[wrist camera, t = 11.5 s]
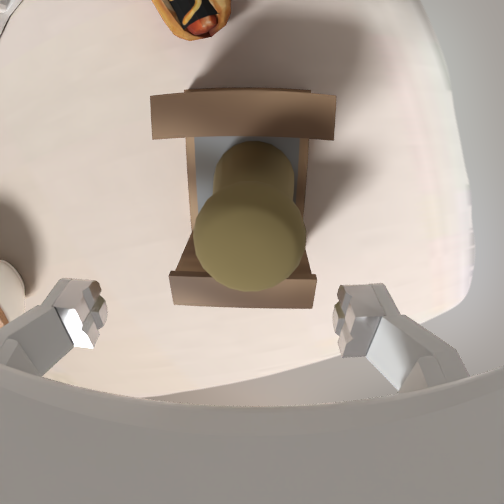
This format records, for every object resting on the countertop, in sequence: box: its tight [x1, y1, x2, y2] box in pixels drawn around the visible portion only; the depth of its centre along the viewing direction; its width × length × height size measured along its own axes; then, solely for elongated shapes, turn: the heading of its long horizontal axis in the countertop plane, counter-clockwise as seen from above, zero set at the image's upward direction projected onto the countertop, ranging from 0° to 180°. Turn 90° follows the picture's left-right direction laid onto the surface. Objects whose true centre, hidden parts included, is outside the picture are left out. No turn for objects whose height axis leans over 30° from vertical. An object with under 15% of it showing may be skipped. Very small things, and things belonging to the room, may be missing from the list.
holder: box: [150, 88, 336, 309], centre depth 20 cm, size 14×9×8 cm
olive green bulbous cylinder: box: [193, 141, 306, 292], centre depth 17 cm, size 6×6×11 cm
